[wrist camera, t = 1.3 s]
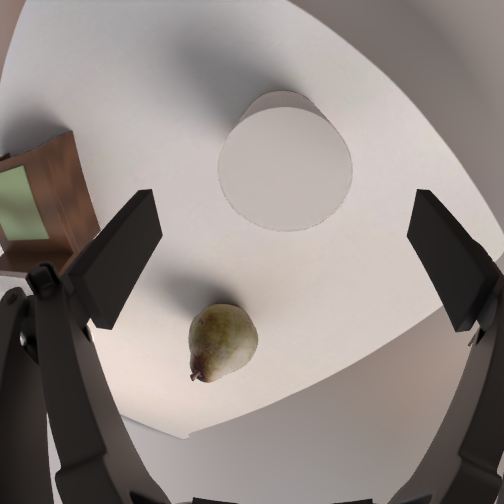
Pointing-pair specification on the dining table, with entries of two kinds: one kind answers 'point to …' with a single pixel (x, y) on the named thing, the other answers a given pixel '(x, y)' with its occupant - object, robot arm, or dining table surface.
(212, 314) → the fruit
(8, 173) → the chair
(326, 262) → the dining table surface
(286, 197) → the white round cylinder
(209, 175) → the dining table surface
